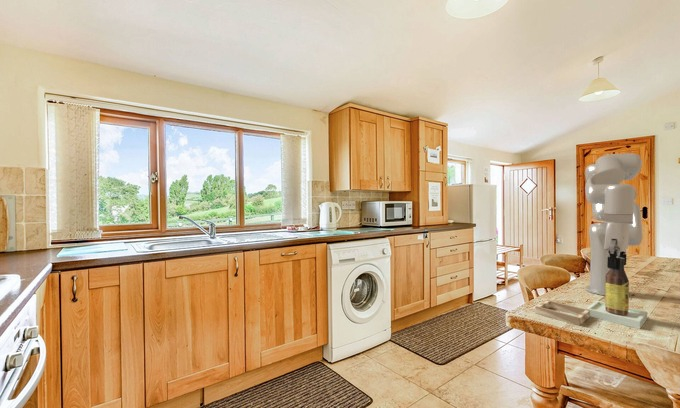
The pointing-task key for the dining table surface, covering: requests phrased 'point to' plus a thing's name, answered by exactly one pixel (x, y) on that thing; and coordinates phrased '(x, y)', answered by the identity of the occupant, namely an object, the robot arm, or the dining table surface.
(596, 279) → the robot arm
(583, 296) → the dining table surface
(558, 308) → the tan flat square frame
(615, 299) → the sauce bottle
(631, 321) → the shallow square tray
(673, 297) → the dining table surface
